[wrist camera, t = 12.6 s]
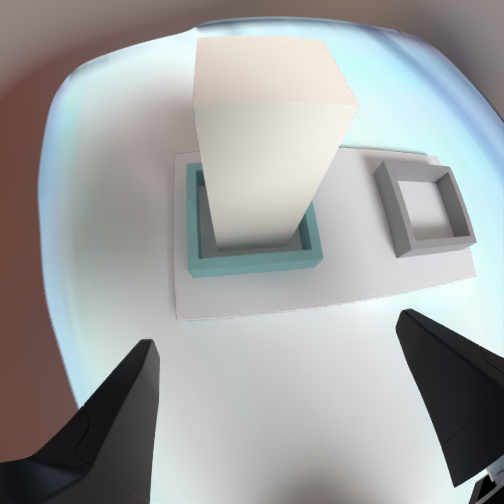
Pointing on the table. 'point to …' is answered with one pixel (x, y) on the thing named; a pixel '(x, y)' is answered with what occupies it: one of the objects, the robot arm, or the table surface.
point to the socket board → (327, 240)
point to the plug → (266, 132)
